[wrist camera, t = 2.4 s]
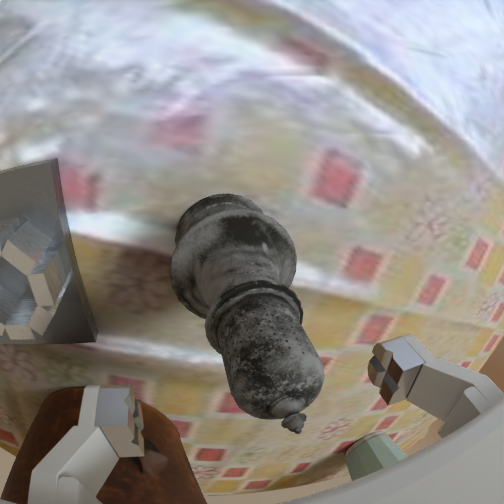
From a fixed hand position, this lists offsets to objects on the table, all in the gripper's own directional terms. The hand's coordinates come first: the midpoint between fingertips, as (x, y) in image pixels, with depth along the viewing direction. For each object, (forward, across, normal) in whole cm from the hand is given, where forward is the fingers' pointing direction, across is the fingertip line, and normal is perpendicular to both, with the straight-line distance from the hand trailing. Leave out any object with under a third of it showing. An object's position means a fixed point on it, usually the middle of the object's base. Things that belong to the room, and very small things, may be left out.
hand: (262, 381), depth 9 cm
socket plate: (+9, +18, -1) cm, 20 cm away
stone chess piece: (+10, 0, -1) cm, 10 cm away
